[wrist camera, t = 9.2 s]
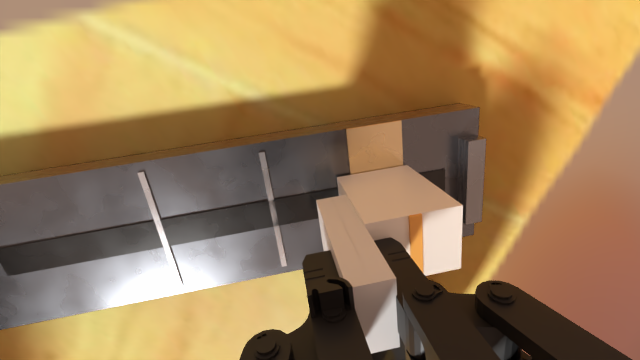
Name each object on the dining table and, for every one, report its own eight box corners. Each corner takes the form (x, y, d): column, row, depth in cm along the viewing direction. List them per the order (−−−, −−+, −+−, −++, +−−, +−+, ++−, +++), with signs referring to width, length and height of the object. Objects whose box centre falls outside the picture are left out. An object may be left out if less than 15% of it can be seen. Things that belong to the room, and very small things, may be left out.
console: (23, 305, 20) (-18, 345, 17) (-47, 183, 17) (-110, 207, 14) (456, 220, 22) (483, 242, 19) (459, 103, 19) (491, 109, 17)
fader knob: (342, 225, 18) (371, 289, 13) (336, 177, 17) (365, 225, 12) (408, 213, 19) (462, 270, 14) (407, 165, 18) (464, 206, 13)
